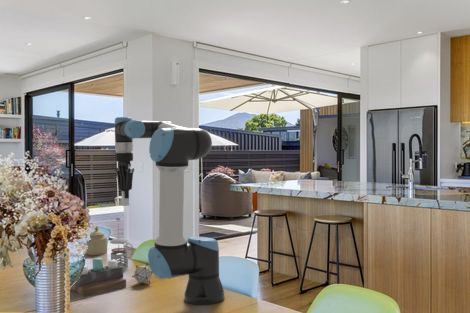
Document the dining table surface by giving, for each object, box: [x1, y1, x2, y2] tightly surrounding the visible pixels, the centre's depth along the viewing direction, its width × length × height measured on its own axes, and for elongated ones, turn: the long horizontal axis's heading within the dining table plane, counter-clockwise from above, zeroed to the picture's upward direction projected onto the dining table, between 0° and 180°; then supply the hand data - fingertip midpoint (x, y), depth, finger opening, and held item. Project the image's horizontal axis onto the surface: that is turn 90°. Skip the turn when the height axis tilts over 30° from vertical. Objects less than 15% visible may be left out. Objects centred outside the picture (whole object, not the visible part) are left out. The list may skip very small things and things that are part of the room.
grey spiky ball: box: [131, 263, 153, 286], centre depth 198 cm, size 9×8×10 cm
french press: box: [109, 217, 134, 273], centre depth 221 cm, size 10×12×25 cm
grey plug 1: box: [81, 264, 89, 275], centre depth 189 cm, size 4×4×6 cm
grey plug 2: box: [107, 259, 118, 269], centre depth 197 cm, size 4×4×6 cm
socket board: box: [70, 265, 127, 297], centre depth 193 cm, size 14×19×8 cm
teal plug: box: [92, 257, 104, 272], centre depth 193 cm, size 4×4×6 cm
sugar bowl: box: [86, 226, 108, 256], centre depth 260 cm, size 15×11×15 cm
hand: (125, 205), depth 206 cm, fingers closed
